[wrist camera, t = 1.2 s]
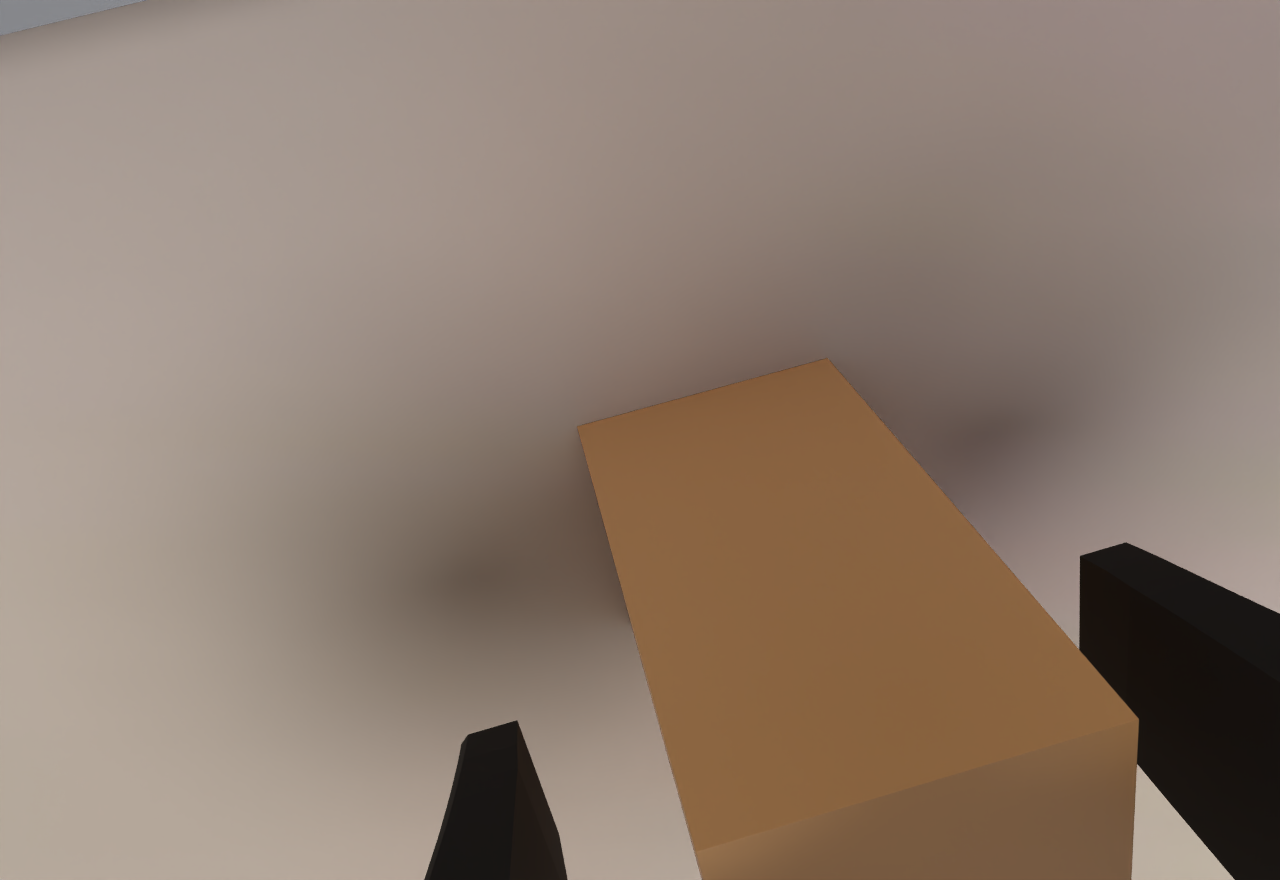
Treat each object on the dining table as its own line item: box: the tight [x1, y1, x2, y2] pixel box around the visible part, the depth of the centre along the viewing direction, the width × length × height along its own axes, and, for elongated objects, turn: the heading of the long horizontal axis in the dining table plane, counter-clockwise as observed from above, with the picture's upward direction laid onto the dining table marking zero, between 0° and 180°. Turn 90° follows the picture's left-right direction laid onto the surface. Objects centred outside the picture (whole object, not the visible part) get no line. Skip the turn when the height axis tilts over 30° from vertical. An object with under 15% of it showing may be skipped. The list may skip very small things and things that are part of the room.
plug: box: [577, 358, 1139, 880], centre depth 13 cm, size 4×4×8 cm
